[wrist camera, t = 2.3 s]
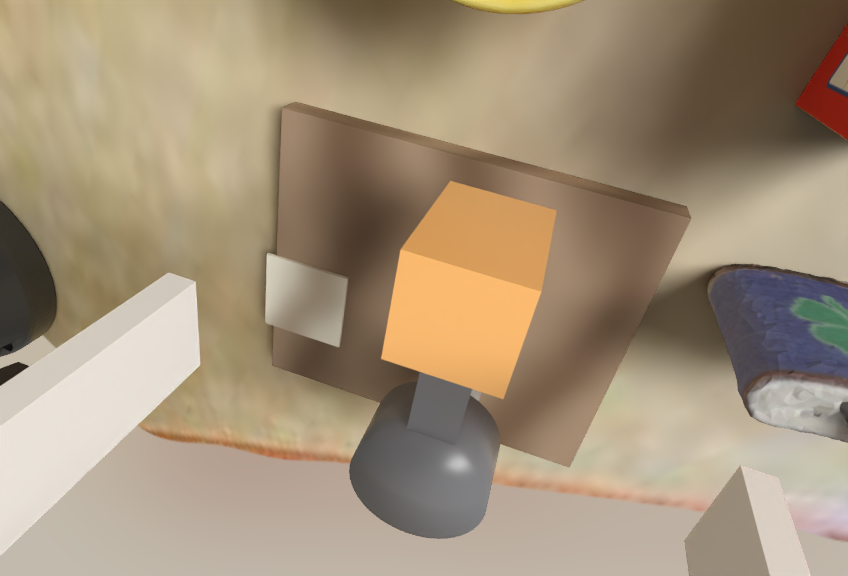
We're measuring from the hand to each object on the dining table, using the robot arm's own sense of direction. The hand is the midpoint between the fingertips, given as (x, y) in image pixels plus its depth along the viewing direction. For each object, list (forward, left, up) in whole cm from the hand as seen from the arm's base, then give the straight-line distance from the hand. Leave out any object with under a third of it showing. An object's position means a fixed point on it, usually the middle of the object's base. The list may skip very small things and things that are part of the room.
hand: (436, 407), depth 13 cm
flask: (+15, -2, -17) cm, 23 cm away
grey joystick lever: (0, -6, -9) cm, 11 cm away
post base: (-2, -8, -17) cm, 19 cm away
